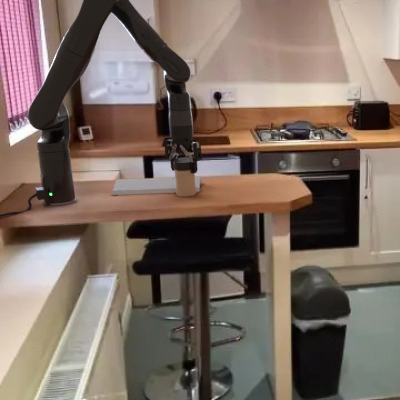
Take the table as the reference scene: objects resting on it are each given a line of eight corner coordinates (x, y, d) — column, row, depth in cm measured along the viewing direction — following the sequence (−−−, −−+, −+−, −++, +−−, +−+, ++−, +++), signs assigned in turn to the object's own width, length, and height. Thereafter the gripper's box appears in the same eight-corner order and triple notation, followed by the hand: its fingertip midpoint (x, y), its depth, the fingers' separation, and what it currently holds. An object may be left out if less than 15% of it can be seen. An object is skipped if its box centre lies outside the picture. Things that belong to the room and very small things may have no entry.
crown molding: (112, 195, 201) (111, 185, 200) (119, 186, 213) (118, 177, 212) (199, 192, 205) (199, 181, 204) (201, 183, 217) (201, 174, 216)
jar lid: (198, 166, 200) (198, 159, 199) (185, 171, 194) (184, 164, 193) (183, 163, 203) (182, 156, 202) (169, 168, 197) (168, 161, 196)
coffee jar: (180, 198, 197) (177, 165, 194) (174, 192, 203) (171, 161, 199) (198, 195, 200) (196, 163, 197) (192, 189, 206) (189, 158, 202)
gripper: (156, 123, 196) (160, 171, 200) (189, 126, 188) (192, 176, 193) (173, 120, 202) (176, 167, 206) (205, 123, 195) (208, 171, 199)
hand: (184, 171), depth 199 cm, fingers open, 8 cm apart
